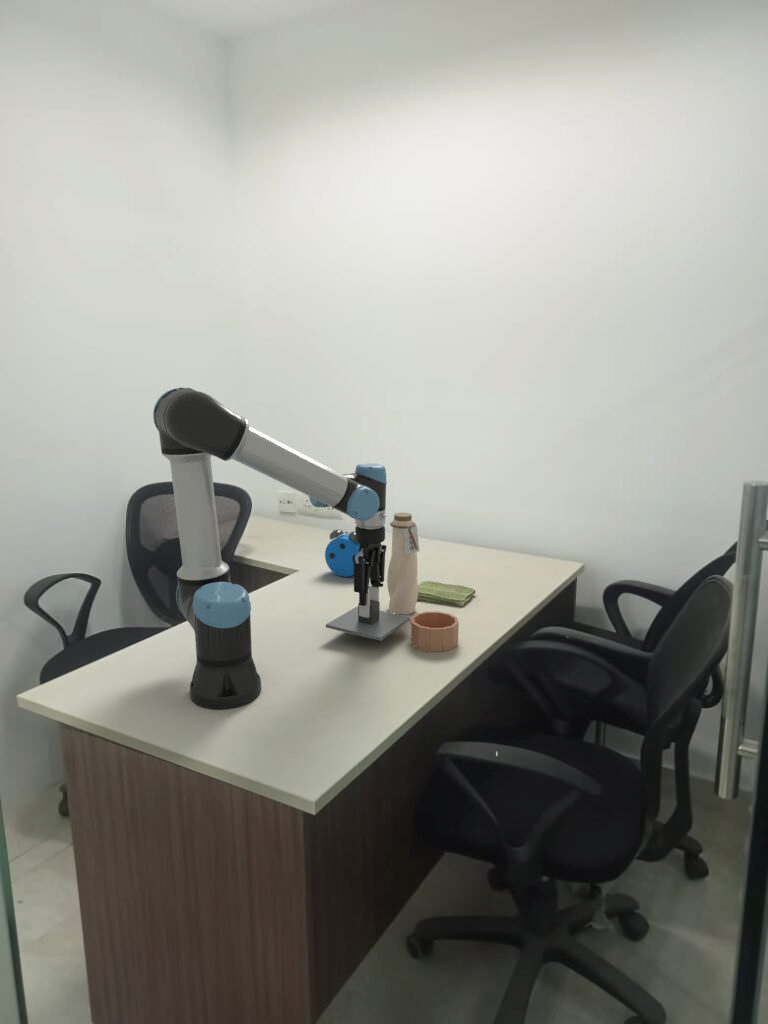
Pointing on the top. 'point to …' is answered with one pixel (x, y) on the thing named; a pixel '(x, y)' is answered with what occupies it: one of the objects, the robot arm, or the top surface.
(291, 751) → the top surface
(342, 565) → the alarm clock
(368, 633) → the cover sheet
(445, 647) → the bowl
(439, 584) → the washcloth
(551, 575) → the top surface
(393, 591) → the water bottle
